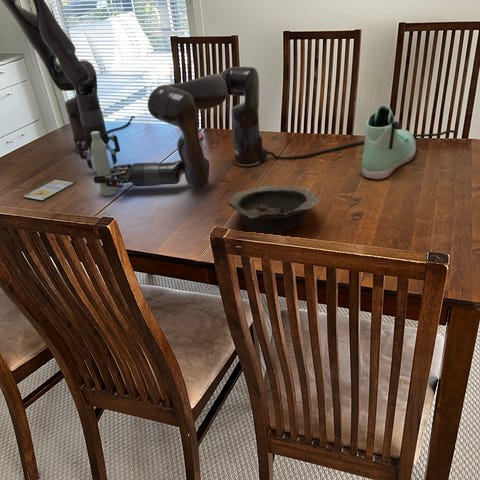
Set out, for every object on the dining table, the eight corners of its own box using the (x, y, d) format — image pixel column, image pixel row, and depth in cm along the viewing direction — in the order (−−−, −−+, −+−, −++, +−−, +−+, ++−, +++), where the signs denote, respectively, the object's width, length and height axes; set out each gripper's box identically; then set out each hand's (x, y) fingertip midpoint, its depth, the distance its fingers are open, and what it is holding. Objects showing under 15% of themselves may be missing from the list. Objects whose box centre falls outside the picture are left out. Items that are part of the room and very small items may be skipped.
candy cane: (171, 147, 193) (170, 143, 192) (194, 135, 203) (194, 131, 202) (182, 149, 190) (182, 145, 189) (206, 137, 200) (205, 133, 199)
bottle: (107, 189, 162) (93, 129, 151) (118, 191, 161) (105, 130, 150) (99, 195, 159) (84, 134, 148) (110, 196, 157) (96, 135, 146)
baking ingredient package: (22, 195, 161) (55, 178, 172) (23, 197, 161) (55, 180, 172) (41, 199, 157) (74, 182, 169) (42, 200, 157) (74, 183, 169)
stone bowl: (258, 254, 121) (254, 221, 116) (217, 221, 141) (212, 192, 137) (338, 225, 129) (337, 193, 125) (288, 198, 150) (286, 170, 145)
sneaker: (420, 146, 175) (428, 89, 165) (399, 183, 150) (406, 120, 139) (383, 142, 181) (388, 87, 171) (356, 177, 156) (360, 116, 145)
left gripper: (73, 129, 161) (84, 174, 169) (115, 121, 165) (124, 165, 174) (70, 123, 167) (81, 167, 175) (111, 115, 171) (120, 158, 180)
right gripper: (150, 155, 159) (100, 157, 161) (140, 172, 147) (86, 175, 149) (154, 176, 163) (105, 178, 165) (145, 194, 151) (92, 196, 153)
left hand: (103, 166), depth 174 cm, fingers open, 8 cm apart
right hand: (96, 176), depth 157 cm, fingers closed on bottle, 4 cm apart
